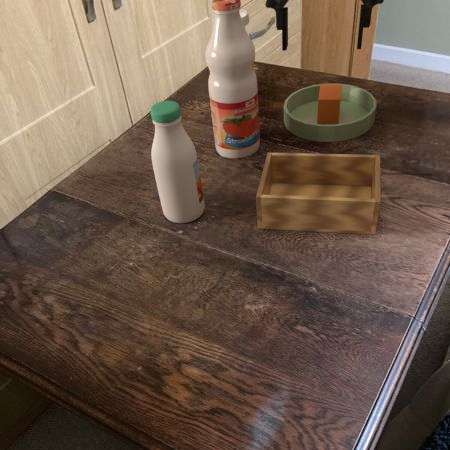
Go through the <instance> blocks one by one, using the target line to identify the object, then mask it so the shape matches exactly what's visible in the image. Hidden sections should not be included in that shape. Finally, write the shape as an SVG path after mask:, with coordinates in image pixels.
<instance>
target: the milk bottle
mask: <svg viewBox="0 0 450 450" xmlns="http://www.w3.org/2000/svg"><path fill="white" fill-rule="evenodd" d="M181 113H182V112H181V107H180V104H179V103H178V102H177V101H174V100H163V101H159V102H156V103H154V104H153V105H152V106H151V107H150V116H151V120H152V124H153V125H154V136H153V141H152V144H151V152H150V153H151V154H150V156H151V157H150V158H151V163H152V168H153V174H154V178H155V182H156V188H157V192H158V196H159V201H160V205H161V209H162V213H163V215H164V217H165V218H166V219H167V220H168V221H170V222H172V223H175V224H186V223H191V222H193V221H196V220H197V219H199V218H200V217H201V216H202V215H203V214H204V211H205V207H206V205H205V204H206V203H205V198H204V190H203V184H202V177H201V172H200V166H199V160H198V154H197V151H196V147H195V145H194V142H193V141H192V139H191V138H190V136H189V135H188V133H187V132H186V130H185V128H184V126H183V123H182V121H181V120H182V115H181Z"/></svg>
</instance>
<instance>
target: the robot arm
mask: <svg viewBox="0 0 450 450" xmlns="http://www.w3.org/2000/svg"><path fill="white" fill-rule="evenodd" d="M289 1H290V0H266V1H265V3H264V4H265V7H266V9H271V10H274V12H275V28H276V30H277V31H281V48H282V49H281V50H282V51H285V52H286V51H288V46H289V7H288V6H286V5H287V3H289ZM360 1H361V4H360V11H359V23H358V33H357V45H356V50H362V46H363V45H362V44H363V36H364V29H365V28H366V29H369V28H370V26H371V21H372V13H373V8H374V7H375V6H376V5H382V4H383V3H384V1H385V0H360Z"/></svg>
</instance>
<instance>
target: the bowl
mask: <svg viewBox="0 0 450 450" xmlns="http://www.w3.org/2000/svg"><path fill="white" fill-rule="evenodd" d="M341 84H342V90H341V103H340V115H339V124H335V125H320V124H317V115H318V98H319V91H320V85H341ZM376 112H377V99H376V98H375V97H374V95H373V93H371V92H370V91H368V90H366V89H365V88H362V87H359V86H356V85H352V84H345V83H334V82H333V83H330V82H329V83H319V84H313V85H308V86H306V87H303V88H300V89H298V90H296V91H294V92H292V93H291V94H289V96H288V97H287V98H286V99H284V104H283V124H284V127H285V128H286V130H287V131H289V133H291V134H292V135H294V136H296V137H298V138H300V139H302V140H307V141H310V142H311V141H312V142H318V143H336V142H343V141H348V140H349V141H350V140H352V139H356V138H358V137H360V136H362V135H364V134H366V133H367V132H368V131H370V129H371V128H372V127H373V126H374V124H375V120H376Z"/></svg>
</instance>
